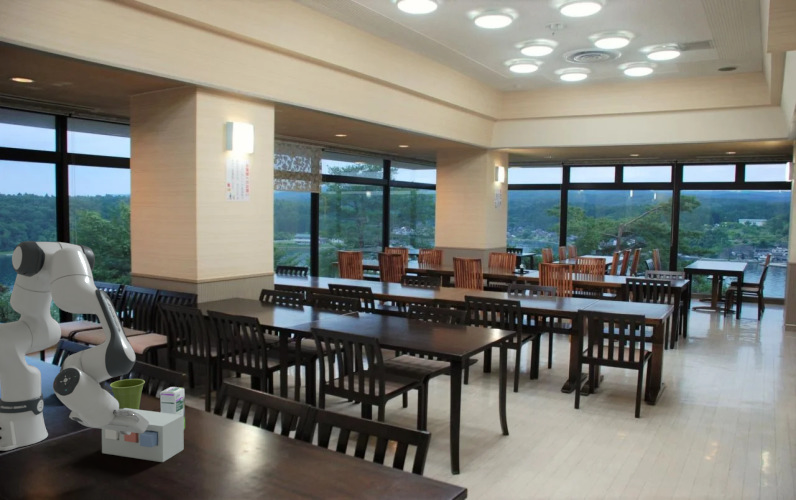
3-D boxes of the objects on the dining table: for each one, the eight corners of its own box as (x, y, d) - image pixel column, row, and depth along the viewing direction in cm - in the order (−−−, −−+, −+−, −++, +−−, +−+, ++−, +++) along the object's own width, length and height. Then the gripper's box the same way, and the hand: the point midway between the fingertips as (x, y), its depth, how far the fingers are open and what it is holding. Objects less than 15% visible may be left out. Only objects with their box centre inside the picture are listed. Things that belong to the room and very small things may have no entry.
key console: (102, 453, 180) (101, 418, 179) (125, 441, 190) (124, 407, 189) (162, 462, 174) (162, 426, 173) (183, 449, 184) (183, 415, 183)
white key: (105, 438, 178) (105, 426, 178) (112, 434, 181) (112, 423, 181) (116, 439, 177) (116, 428, 177) (123, 436, 180) (123, 425, 180)
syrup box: (176, 434, 196) (175, 392, 195) (160, 433, 197) (160, 391, 196) (185, 428, 201) (185, 387, 200) (170, 427, 202) (169, 386, 202)
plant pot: (150, 407, 222) (150, 378, 222) (137, 418, 210) (137, 387, 210) (119, 407, 222) (118, 378, 221) (104, 418, 210) (103, 387, 209)
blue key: (140, 445, 173) (139, 434, 173) (146, 442, 176) (146, 430, 176) (151, 447, 172) (151, 435, 172) (158, 443, 175) (158, 432, 175)
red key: (124, 440, 176) (124, 429, 176) (131, 437, 179) (131, 426, 179) (135, 442, 175) (135, 431, 175) (142, 438, 178) (142, 427, 178)
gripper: (138, 402, 157) (162, 425, 167) (76, 395, 163) (103, 418, 173) (126, 424, 153) (152, 446, 163) (63, 416, 159) (92, 438, 169)
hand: (126, 432), depth 168 cm, fingers closed
